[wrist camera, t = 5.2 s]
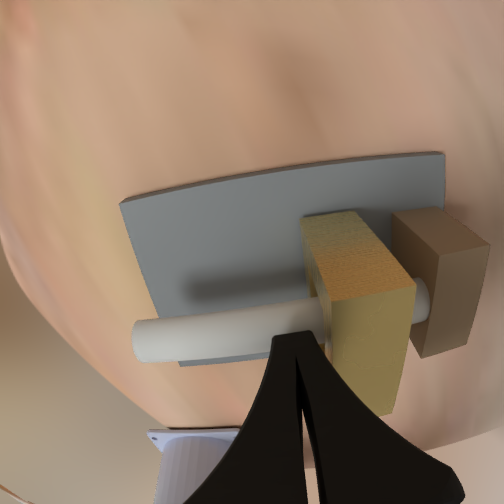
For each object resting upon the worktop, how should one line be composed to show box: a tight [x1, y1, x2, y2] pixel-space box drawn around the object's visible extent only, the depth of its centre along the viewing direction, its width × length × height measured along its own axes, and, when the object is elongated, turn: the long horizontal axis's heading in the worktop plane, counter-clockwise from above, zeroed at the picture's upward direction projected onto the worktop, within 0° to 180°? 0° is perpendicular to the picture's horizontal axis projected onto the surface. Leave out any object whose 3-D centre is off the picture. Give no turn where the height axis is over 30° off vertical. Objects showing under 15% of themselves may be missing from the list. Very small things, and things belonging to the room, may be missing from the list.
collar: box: [299, 210, 417, 417], centre depth 12 cm, size 2×6×6 cm, turn 10°
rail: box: [119, 152, 490, 367], centre depth 13 cm, size 15×10×5 cm, turn 100°
